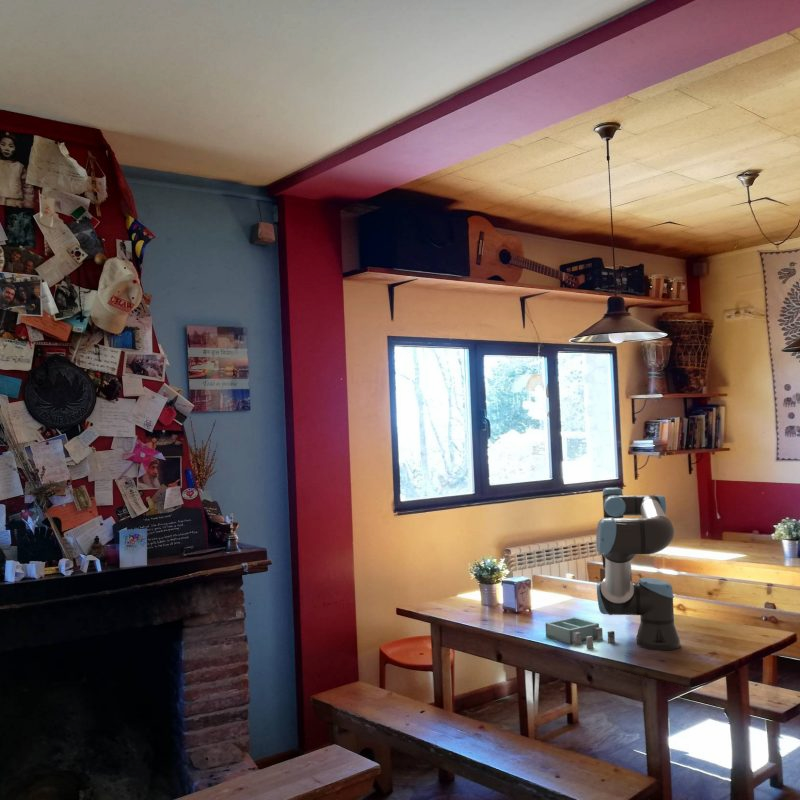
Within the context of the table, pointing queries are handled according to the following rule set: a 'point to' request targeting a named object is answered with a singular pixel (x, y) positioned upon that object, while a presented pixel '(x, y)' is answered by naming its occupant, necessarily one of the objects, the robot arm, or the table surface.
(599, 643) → the table surface
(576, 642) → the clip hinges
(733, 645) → the table surface
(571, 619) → the box
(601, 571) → the door
